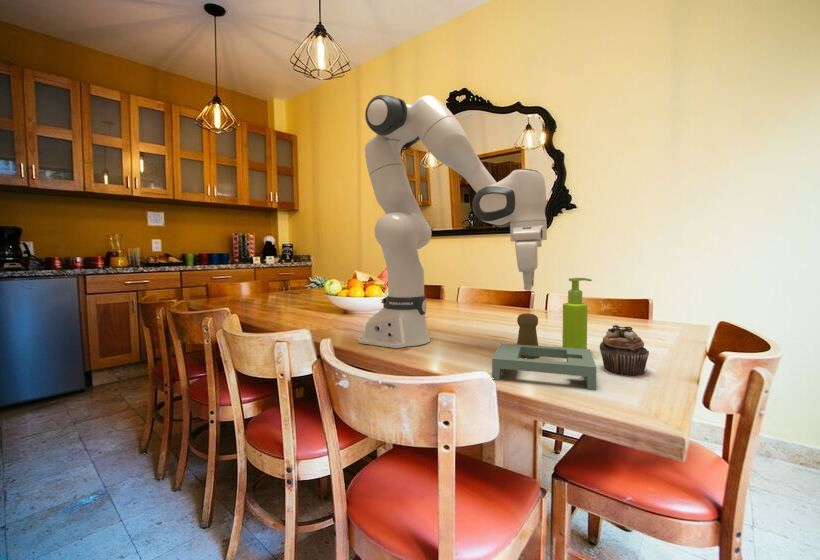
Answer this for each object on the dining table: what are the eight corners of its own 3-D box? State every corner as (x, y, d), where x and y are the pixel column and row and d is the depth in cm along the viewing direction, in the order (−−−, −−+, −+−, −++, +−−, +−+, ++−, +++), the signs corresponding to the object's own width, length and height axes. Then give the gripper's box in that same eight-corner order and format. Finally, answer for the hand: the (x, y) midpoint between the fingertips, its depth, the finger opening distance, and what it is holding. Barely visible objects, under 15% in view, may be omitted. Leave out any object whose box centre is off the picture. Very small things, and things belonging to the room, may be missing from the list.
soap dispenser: (594, 356, 96) (596, 278, 94) (567, 356, 96) (568, 278, 94) (584, 350, 102) (585, 276, 100) (559, 350, 102) (559, 277, 100)
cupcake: (650, 380, 78) (651, 332, 77) (598, 373, 83) (599, 328, 82) (647, 367, 86) (648, 324, 85) (600, 362, 91) (600, 321, 90)
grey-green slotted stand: (492, 379, 80) (492, 358, 80) (500, 361, 93) (500, 343, 93) (596, 389, 73) (596, 367, 73) (589, 368, 86) (589, 349, 86)
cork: (541, 359, 94) (541, 316, 93) (516, 358, 95) (516, 315, 94) (538, 353, 100) (538, 312, 99) (514, 352, 101) (514, 312, 100)
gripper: (518, 236, 106) (519, 284, 107) (511, 233, 87) (512, 292, 88) (542, 234, 104) (543, 284, 105) (540, 231, 85) (541, 292, 85)
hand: (529, 288), depth 96 cm, fingers open, 8 cm apart
